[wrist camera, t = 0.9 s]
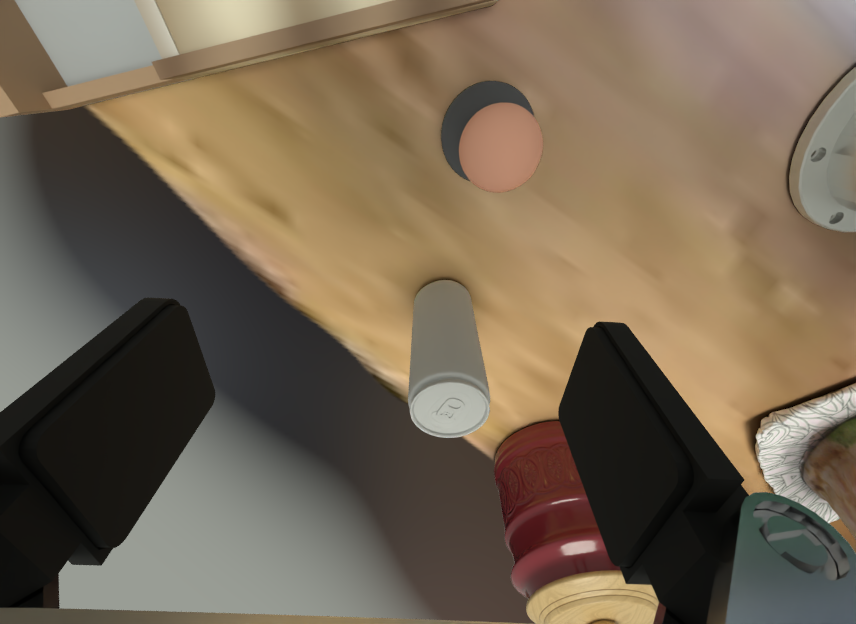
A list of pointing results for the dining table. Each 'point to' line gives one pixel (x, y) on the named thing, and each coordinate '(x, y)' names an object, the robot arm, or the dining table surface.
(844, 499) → the cookie jar
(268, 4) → the lane
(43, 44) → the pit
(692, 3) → the dining table surface
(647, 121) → the dining table surface
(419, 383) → the beverage can
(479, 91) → the tee
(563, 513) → the canister
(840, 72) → the dining table surface
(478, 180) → the ball
